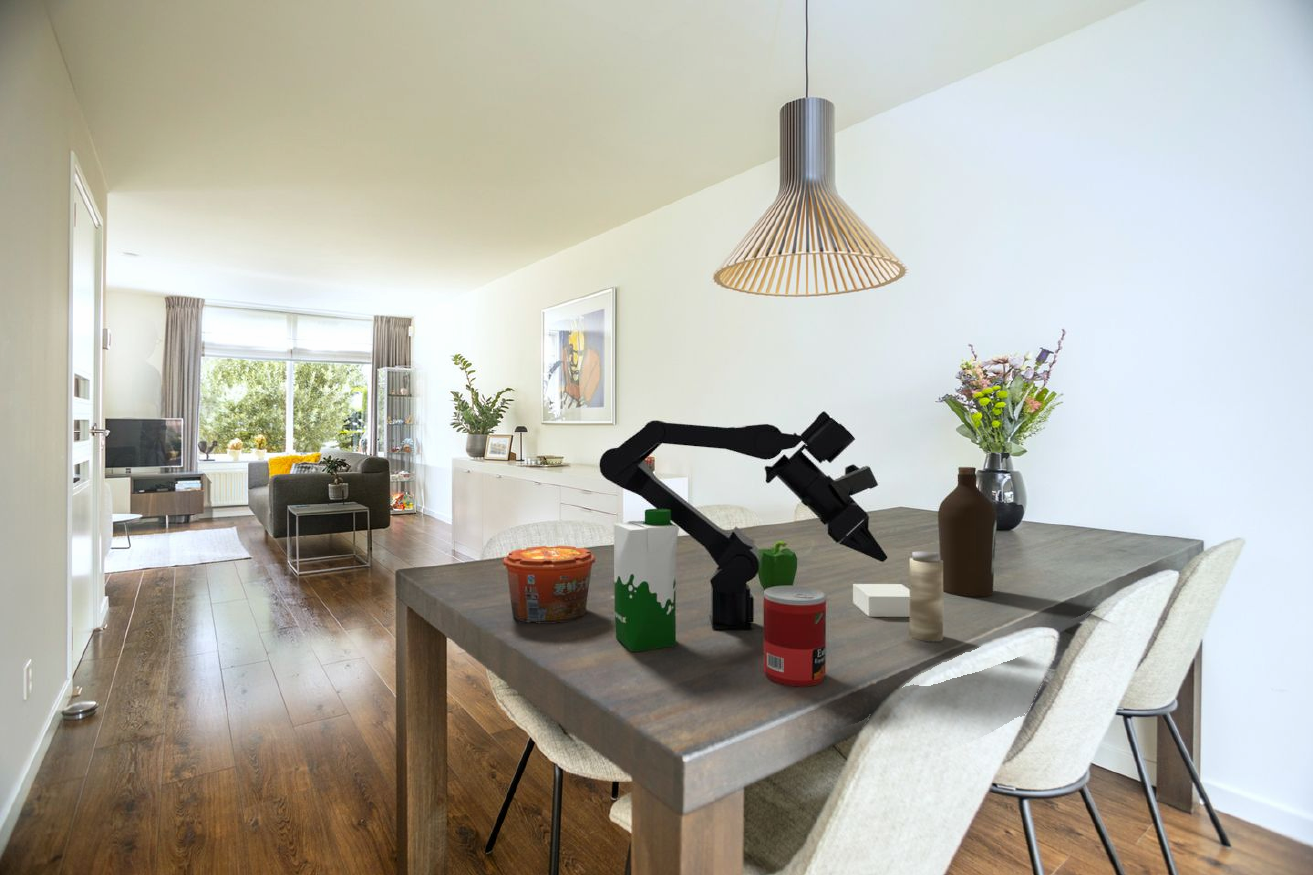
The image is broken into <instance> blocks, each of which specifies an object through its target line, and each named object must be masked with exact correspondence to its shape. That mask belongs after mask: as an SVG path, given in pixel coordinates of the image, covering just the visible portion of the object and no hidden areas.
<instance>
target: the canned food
mask: <svg viewBox="0 0 1313 875" xmlns="http://www.w3.org/2000/svg"><path fill="white" fill-rule="evenodd" d="M826 601H827V599H826V594H825V593H824V592H823V591H821V590H819V589H816V588H813V587H809V586H808V587H807V586H803V585H793V586H774V587H770V588H767V589H765V588H764V592H763V671H764V674H765V676H766V677H767V678H768V679H769V680H770V681H773V682H774V683H776V684H777V683H778V684H780V685H783V686H790V687H798V688H799V687H812V686H817V685H818V684H820V683H822V682H823V681H824V678H825V675H826V672H827V670H826V666H827V665H826V659H827V658H826V655H827V654H826V652H827V648H826V647H827V646H826V645H827V642H826V641H827V640H826V639H827V632H826V631H827V602H826Z"/></svg>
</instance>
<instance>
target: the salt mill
mask: <svg viewBox="0 0 1313 875" xmlns="http://www.w3.org/2000/svg"><path fill="white" fill-rule="evenodd" d="M911 554H912V557H910V558H909V589H910V617H909V637H911V638H912V639H914V640H917V641H923V642H930V641H931V642H932V643H933V642H935V641H936V642H941V641H942V640H943V639H944V591H943V561H942V560H940V552H939V553H938V552H934V551H926V550H925V551H923V550H921V551H920V550H919V551H912V553H911Z"/></svg>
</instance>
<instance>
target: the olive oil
mask: <svg viewBox="0 0 1313 875" xmlns="http://www.w3.org/2000/svg"><path fill="white" fill-rule="evenodd" d="M957 469H958V474H957V486H956V487H955V488H954V489H953V490H952V491H951V492H950V493H949V494H948V495H947V496H946V497H945V498H944V499H943V500H942V501H941V502H940V505H939V506H938V511H937V524H938V525H937V526H938V540H939V546H938V547H939V554H940V560H942V561H943V592H945V593H946V594H947V593H948V594H952V595H955V596H961V597H969V598H970V597H971V598H984V597H990V596H992V595H993V593H994V578H995V577H994V575H995V558H996V557H995V555H996V554H995V553H996V542H997V541H996V540H997V526H998V525H997V524H998V519H997V518H998V515H997V511H996V508H995V506H994V504H993V502H991V500H990V499H989V498H988V497H987V496H986V495H985V494H984V493H983V492H982V491H981V490H980V489H979V488H978V486H977V474H976V471H977V470H976V467H973V466H972V467H971V466H960V467H958V468H957Z"/></svg>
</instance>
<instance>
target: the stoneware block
mask: <svg viewBox="0 0 1313 875" xmlns="http://www.w3.org/2000/svg"><path fill="white" fill-rule="evenodd" d="M852 603H853V604H854V605H855V606H856V607H857V608H858V609H859V610H861V611H862V612H863V613H864V614H865V615H867V617H871V618H873V617H875V618H877V617H880V618H881V617H884V618H885V617H888V618H889V617H890V618H891V617H893V618H894V617H896V618H898V617H899V618H901V617H902V618H903V617H904V618H906V617H909V618H910V588H909V587H907V586H905V585H903V584H901V583H853V584H852Z"/></svg>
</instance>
